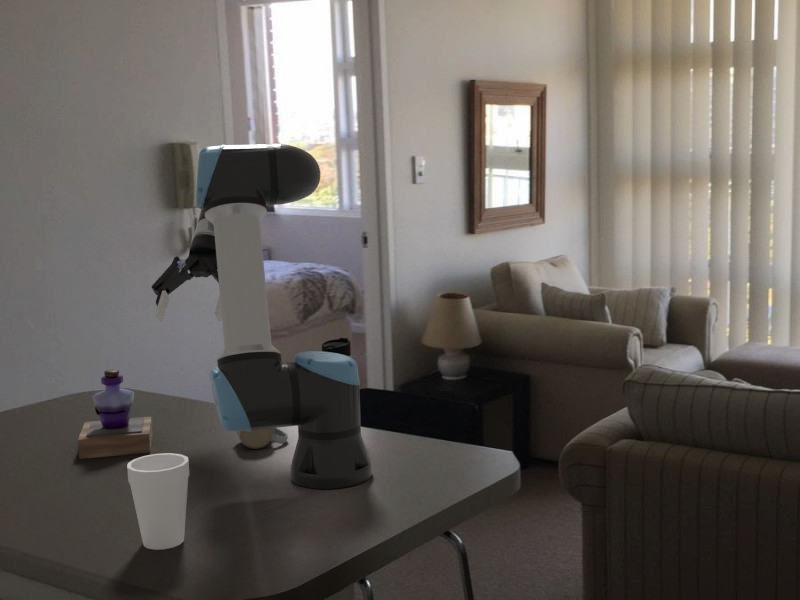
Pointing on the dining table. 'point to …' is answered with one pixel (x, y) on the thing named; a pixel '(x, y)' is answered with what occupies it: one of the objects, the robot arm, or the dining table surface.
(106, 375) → the potion bottle
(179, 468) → the foam cup
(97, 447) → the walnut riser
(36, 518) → the dining table surface
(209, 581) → the dining table surface
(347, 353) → the travel mug
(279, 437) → the ceramic mug
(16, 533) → the dining table surface
